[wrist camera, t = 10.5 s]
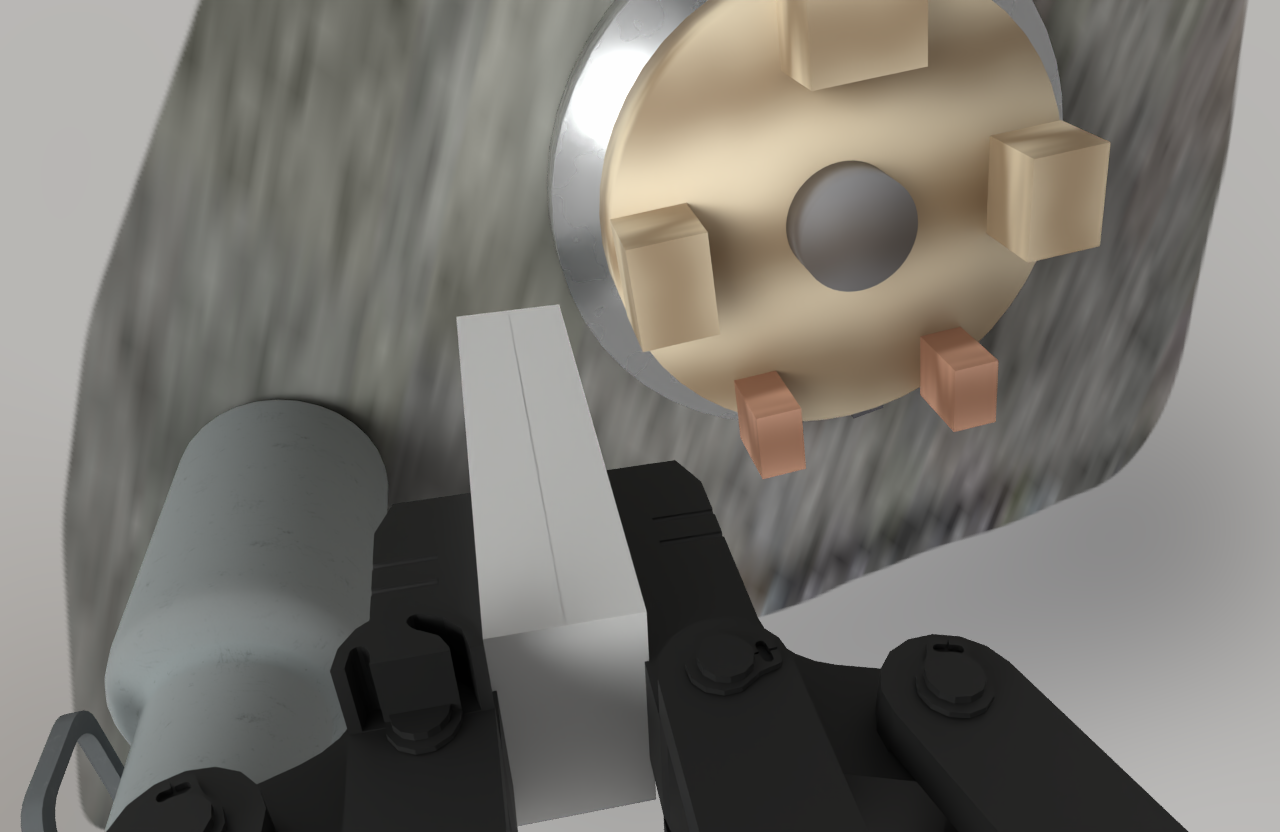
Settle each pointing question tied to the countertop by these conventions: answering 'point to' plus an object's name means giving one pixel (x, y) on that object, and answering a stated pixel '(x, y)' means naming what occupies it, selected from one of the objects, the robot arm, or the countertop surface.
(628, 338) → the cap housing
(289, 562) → the water bottle
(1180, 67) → the countertop surface
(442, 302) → the countertop surface
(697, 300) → the ring nut
